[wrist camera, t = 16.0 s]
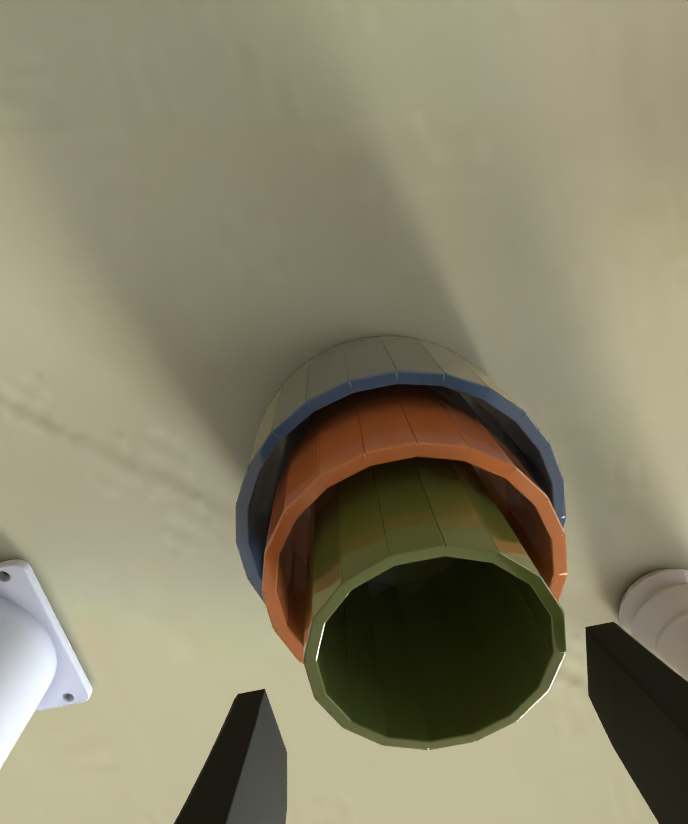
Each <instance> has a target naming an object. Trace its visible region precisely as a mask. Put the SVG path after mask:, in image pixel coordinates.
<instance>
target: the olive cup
mask: <svg viewBox="0 0 688 824" xmlns="http://www.w3.org/2000/svg"><path fill="white" fill-rule="evenodd" d="M565 654H566V639H565V622H564V612H563V609H562V608H561V606H560V604H559V603H558V601H557V600H556V598H555V596H554V595H553V593H552V592H551V590H550V588H549V587H548V585H547V584H546V582H545V580H544V579H543V577H542V576H541V574H540V572H539V571H538V569H537V568H536V566H535V565H534V563H533V561H532V560H531V558H530V557H529V555H528V553H527V552H526V550H525V549H524V547H523V545H522V544H521V542H520V541H519V539H518V537H517V536H516V534H515V533H514V531H513V530H512V528H511V526H510V525H509V523H508V522H507V520H506V518H505V517H504V515H503V514H502V512H501V510H500V509H499V507H498V506H497V504H496V502H495V501H494V499H493V498H492V496H491V495H490V493H489V491H488V490H487V488H486V487H485V485H484V483H483V482H482V480H481V479H480V477H479V476H478V474H477V473H476V471H475V469H474V468H473V466H472V465H471V464H470V463H468V462H465V461H460V460H449V459H438V458H427V457H413V458H408V459H403V460H398V461H393V462H388V463H383V464H378V465H373V466H369V467H367V468H365V469H363V470H361V471H359V472H357V473H356V474H354V475H352V476H350V477H348V478H346V479H344V480H342V481H340V482H338V483H336V484H334V485H332V486H331V487H329V488H327V489H326V490H325V491H324V492H323V493H322V494H321V495H320V496H319V497H318V498H317V499H316V500H315V501H314V502H313V503H312V507H311V515H310V520H309V537H308V560H307V583H306V606H305V629H304V652H303V662H304V665H305V669H306V672H307V675H308V679H309V682H310V685H311V689H312V692H313V695H314V698H315V700H316V701H317V702H318V703H319V704H320V705H321V706H322V707H323V708H324V709H325V710H326V711H327V712H328V713H329V714H330V715H331V716H332V717H333V718H334V719H335V720H336V721H337V722H338V723H339V724H340V726H341V727H343V728H344V729H346V730H349V731H351V732H353V733H355V734H358V735H360V736H362V737H364V738H367V739H369V740H371V741H374V742H376V743H378V744H380V745H384V746H393V747H402V748H412V749H422V750H428V749H429V750H432V749H438V748H443V747H449V746H454V745H460V744H466V743H471V742H475V741H478V740H480V739H482V738H484V737H486V736H488V735H490V734H492V733H494V732H496V731H498V730H500V729H502V728H504V727H506V726H508V725H510V724H512V723H514V722H516V721H517V720H519V719H520V718H521V717H522V716H523V715H524V714H525V713H526V712H527V711H528V710H529V709H530V708H531V707H532V706H533V705H535V704H536V703H537V702H538V701H539V700H540V699H541V698H542V697H543V696H544V695H545V694H546V693H547V692H548V691H549V689H550V688H551V685H552V683H553V681H554V679H555V676H556V674H557V672H558V670H559V667H560V665H561V663H562V661H563V658H564V656H565Z"/></svg>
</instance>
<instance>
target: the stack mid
mask: <svg viewBox="0 0 688 824" xmlns="http://www.w3.org/2000/svg"><path fill="white" fill-rule="evenodd" d="M413 457H427V458H438V459H449V460H460V461H465V462H468V463H470V464H471V465H472V466H473V468H474V469H475V471H476V473H477V474H478V476H479V477H480V479H481V480H482V482H483V483H484V485H485V487H486V488H487V490H488V491H489V493H490V495H491V496H492V498H493V499H494V501H495V502H496V504H497V506H498V507H499V509H500V510H501V512H502V514H503V515H504V517H505V518H506V520H507V522H508V523H509V525H510V526H511V528H512V530H513V531H514V533H515V534H516V536H517V537H518V539H519V541H520V542H521V544H522V545H523V547H524V549H525V550H526V552H527V553H528V555H529V557H530V558H531V560H532V561H533V563H534V565H535V566H536V568H537V569H538V571H539V572H540V574H541V576H542V577H543V579H544V580H545V582H546V584H547V585H548V587H549V588H550V590H551V592H552V593H553V595H554V596H555V598H556V600H557V601H558V602H559V599H560V596H561V593H562V590H563V587H564V583H565V580H566V577H567V554H566V535H565V531H564V529H563V527H562V525H561V523H560V521H559V519H558V517H557V515H556V512H555V510H554V508H553V506H552V504H551V502H550V500H549V498H548V496H547V495H546V494H545V493H544V491H543V490H542V489H541V488H540V487H539V485H538V484H537V483H536V482H535V481H534V479H533V478H532V477H531V476H530V475H529V473H528V472H527V471H526V470H525V469H524V467H523V466H522V465H521V464H520V463H519V461H518V460H517V459H516V458H515V457H514V455H513V454H512V453H511V452H510V451H509V449H508V448H507V447H506V446H505V445H504V443H503V442H502V441H501V440H500V439H499V438H498V437H497V436H495V435H494V433H493V432H492V431H491V430H490V429H489V427H488V426H487V425H486V424H485V423H484V421H483V420H482V419H481V418H480V417H479V415H478V414H477V413H476V412H475V411H474V409H473V408H472V407H471V406H470V404H469V403H468V402H467V401H466V400H465V399H464V398H463V397H462V396H461V395H460V394H459V393H458V392H457V391H455V390H452V389H449V388H445V387H442V386H428V385H408V384H395V385H390V386H385V387H380V388H375V389H370V390H365V391H360V392H355V393H352V394H350V395H348V396H346V397H344V398H342V399H340V400H338V401H336V402H334V403H331V404H329V405H327V406H325V407H323V408H321V409H319V410H317V411H315V412H313V413H312V414H311V415H310V416H309V417H307V418H306V419H305V420H304V421H303V422H302V423H300V424H299V425H298V426H297V427H296V428H295V429H293V430H292V431H291V432H290V433H289V434H288V435H287V437H286V441H285V445H284V449H283V455H282V461H281V467H280V473H279V478H278V484H277V486H276V490H275V495H274V501H273V507H272V512H271V518H270V524H269V529H268V535H267V541H266V546H265V552H264V564H263V578H262V595H263V598H264V601H265V604H266V608H267V611H268V614H269V617H270V620H271V623H272V626H273V629H274V631H275V632H276V633H277V635H278V636H279V637H280V638H281V640H282V641H283V642H284V643H285V645H286V646H287V647H288V648H289V650H290V651H291V652H292V653H293V655H294V656H295V657H296V659H298V660H299V661H300V662H301V663H303V664H304V662H303V652H304V629H305V606H306V583H307V560H308V537H309V520H310V515H311V507H312V503H313V502H314V501H315V500H316V499H317V498H318V497H319V496H320V495H321V494H322V493H323V492H324V491H325V490H326V489H327V488H329V487H331V486H332V485H334V484H336V483H338V482H340V481H342V480H344V479H346V478H348V477H350V476H352V475H354V474H356V473H357V472H359V471H361V470H363V469H365V468H367V467H369V466H373V465H378V464H383V463H388V462H393V461H398V460H403V459H408V458H413Z"/></svg>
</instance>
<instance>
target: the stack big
mask: <svg viewBox="0 0 688 824" xmlns="http://www.w3.org/2000/svg"><path fill="white" fill-rule="evenodd" d="M395 384H408V385H428V386H442V387H445V388H449V389H452V390H455V391H457V392H458V393H459V394H460V395H461V396H462V397H463V398H464V399H465V400H466V401H467V402H468V403H469V404H470V406H471V407H472V408H473V409H474V411H475V412H476V413H477V414H478V415H479V417H480V418H481V419H482V420H483V421H484V423H485V424H486V425H487V426H488V427H489V429H490V430H491V431H492V432H493V433H494V435H495V436H497V437H498V438H499V439H500V440H501V441H502V442H503V443H504V445H505V446H506V447H507V448H508V449H509V451H510V452H511V453H512V454H513V455H514V457H515V458H516V459H517V460H518V461H519V463H520V464H521V465H522V466H523V467H524V469H525V470H526V471H527V472H528V473H529V475H530V476H531V477H532V478H533V479H534V481H535V482H536V483H537V484H538V485H539V487H540V488H541V489H542V490H543V491H544V493H545V494H546V495H547V496H548V498H549V500H550V502H551V504H552V506H553V508H554V510H555V512H556V515H557V517H558V519H559V521H560V523H561V525H562V527H563V528H564V524H565V520H566V507H565V487H564V478H563V475H562V473H561V470H560V467H559V465H558V462H557V459H556V457H555V454H554V451H553V449H552V446H551V444H550V442H549V441H548V440H547V438H546V437H545V436H544V435H543V433H542V432H541V431H540V430H539V428H538V427H537V426H536V425H535V423H534V422H533V421H532V420H531V418H530V417H529V416H528V415H527V413H526V412H525V411H524V410H523V409H521V408H520V407H519V406H518V405H517V404H516V403H515V402H514V401H513V400H512V399H510V398H509V397H508V396H507V395H506V394H505V393H504V392H503V391H502V390H501V389H500V388H498V387H497V386H496V385H495V384H494V383H493V382H492V381H491V380H490V379H489V378H487V377H486V376H485V375H484V374H483V373H482V372H481V371H480V370H479V369H477V368H476V367H474V366H473V365H471V364H470V363H469V362H467V361H466V360H465V359H464V358H462V357H460V356H459V355H457V354H455V353H454V352H452V351H450V350H448V349H446V348H444V347H441V346H439V345H437V344H434V343H432V342H428V341H424V340H420V339H416V338H410V337H402V336H376V337H368V338H361V339H357V340H354V341H350V342H346V343H343V344H340V345H338V346H336V347H333V348H331V349H328V350H326V351H324V352H323V353H321V354H319V355H317V356H316V357H314V358H312V359H310V360H309V361H308V362H307V363H305V364H304V365H303V366H301V367H300V368H299V369H297V370H296V371H295V372H294V373H293V374H292V375H291V376H290V377H289V378H288V379H287V380H286V381H285V382H284V384H283V385H282V386H281V388H280V389H279V390H278V392H277V393H276V394H275V396H274V397H273V399H272V401H271V403H270V404H269V406H268V408H267V410H266V411H265V413H264V415H263V418H262V421H261V424H260V428H259V431H258V434H257V437H256V440H255V444H254V447H253V450H252V453H251V457H250V460H249V463H248V466H247V469H246V473H245V476H244V479H243V483H242V486H241V489H240V493H239V496H238V499H237V502H236V543H237V544H236V545H237V548H238V551H239V554H240V557H241V560H242V563H243V566H244V569H245V572H246V575H247V578H248V580H249V581H250V583H251V584H252V586H253V587H254V589H255V590H256V592H257V593H258V594H259V596H260V597H261V599H262V600H263V602H264V603H265V601H264V598H263V595H262V578H263V564H264V552H265V546H266V541H267V535H268V529H269V524H270V518H271V512H272V507H273V501H274V495H275V490H276V486H277V484H278V478H279V473H280V467H281V461H282V455H283V449H284V445H285V441H286V437H287V435H288V434H289V433H290V432H291V431H292V430H293V429H295V428H296V427H297V426H298V425H299V424H300V423H302V422H303V421H304V420H305V419H306V418H307V417H309V416H310V415H311V414H312V413H313V412H315V411H317V410H319V409H321V408H323V407H325V406H327V405H329V404H331V403H334V402H336V401H338V400H340V399H342V398H344V397H346V396H348V395H350V394H352V393H355V392H360V391H365V390H370V389H375V388H380V387H385V386H390V385H395ZM265 605H266V604H265Z"/></svg>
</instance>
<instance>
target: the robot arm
mask: <svg viewBox="0 0 688 824" xmlns="http://www.w3.org/2000/svg"><path fill="white" fill-rule="evenodd" d="M3 571H4V572H6V573H8V574H9V575H6V574H4V572H3ZM585 628H586V650H587V672H588V694H589V697H590V699H591V702H592V704H593V706H594V708H595V710H596V712H597V714H598V717H599V719H600V721H601V723H602V725H603V727H604V729H605V731H606V733H607V735H608V737H609V739H610V741H611V744H612V746H613V747H614V749H615V751H616V753H617V754H618V756H619V758H620V759H621V761H622V763H623V764H624V766H625V768H626V769H627V771H628V773H629V774H630V776H631V778H632V779H633V781H634V783H635V784H636V786H637V788H638V789H639V791H640V793H641V794H642V796H643V798H644V799H645V801H646V803H647V804H648V806H649V808H650V809H651V811H652V813H653V814H654V816H655V818H656V819H657V821H658V822H659V824H688V681H687V680H685V679H684V678H683V677H681V676H680V675H679V674H678V673H676V672H675V671H674V670H673V669H671V668H670V667H669V666H668V665H666V664H665V663H664V662H663V661H661V660H660V659H659V658H658V657H656V656H655V655H654V654H653V653H651V652H650V651H649V650H648V649H646V648H645V647H644V646H643V645H642V644H640V643H639V642H638V641H637V640H636V639H634V638H633V637H632V636H631V635H629V634H628V633H627V632H626V631H625V630H623V629H622V628H621V627H620V626H619V625H617V624H616V623H614V622H610V623H605V624H600V625H595V626H590V627H585ZM91 693H92V686H91V685H90V683H89V681H88V679H87V677H86V675H85V673H84V671H83V669H82V667H81V665H80V663H79V661H78V659H77V657H76V655H75V653H74V651H73V649H72V647H71V645H70V643H69V641H68V639H67V637H66V635H65V633H64V631H63V629H62V627H61V625H60V623H59V621H58V619H57V617H56V615H55V613H54V611H53V609H52V608H51V606H50V604H49V602H48V600H47V598H46V596H45V594H44V592H43V590H42V588H41V586H40V584H39V582H38V580H37V578H36V576H35V574H34V572H33V570H32V568H31V566H30V565H29V564H28V563H27V562H26V561H24V560H20V559H13V560H8V561H3V562H0V768H1V767H2V765H3V763H4V762H5V760H6V758H7V757H8V755H9V753H10V751H11V750H12V748H13V746H14V745H15V743H16V741H17V740H18V738H19V736H20V735H21V733H22V731H23V730H24V728H25V726H26V724H27V723H28V721H29V719H30V718H31V716H32V714H33V713H34V711H39V710H44V709H50V708H55V707H60V706H66V705H71V704H76V703H82V702H85V701H87V700H88V699H89V697H90V695H91ZM286 812H287V751H286V748H285V745H284V743H283V740H282V737H281V734H280V731H279V728H278V725H277V723H276V720H275V717H274V714H273V711H272V708H271V706H270V703H269V700H268V697H267V694H266V691H265V689H262V690H257V691H251V692H246V693H241V694H238V695H237V696H236V698H235V699H234V701H233V704H232V706H231V708H230V711H229V713H228V715H227V717H226V720H225V722H224V724H223V726H222V728H221V731H220V733H219V735H218V737H217V739H216V741H215V744H214V746H213V748H212V750H211V752H210V754H209V756H208V758H207V760H206V762H205V765H204V766H203V768H202V770H201V772H200V774H199V776H198V778H197V780H196V782H195V784H194V786H193V788H192V790H191V792H190V794H189V796H188V798H187V800H186V802H185V804H184V806H183V808H182V810H181V812H180V813H179V815H178V817H177V819H176V821H175V822H174V824H285V823H286Z"/></svg>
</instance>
